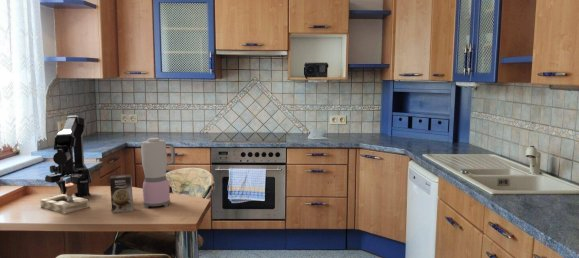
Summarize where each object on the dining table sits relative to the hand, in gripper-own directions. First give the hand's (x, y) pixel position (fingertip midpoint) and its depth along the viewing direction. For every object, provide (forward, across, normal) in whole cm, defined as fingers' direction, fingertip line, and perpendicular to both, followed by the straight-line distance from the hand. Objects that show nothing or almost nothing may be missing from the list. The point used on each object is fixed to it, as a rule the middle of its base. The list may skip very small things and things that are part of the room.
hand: (69, 192), depth 214 cm
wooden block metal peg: (+7, 0, 0) cm, 7 cm away
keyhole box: (+8, 0, -5) cm, 9 cm away
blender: (+8, -26, +32) cm, 42 cm away
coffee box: (+8, -11, +24) cm, 27 cm away
